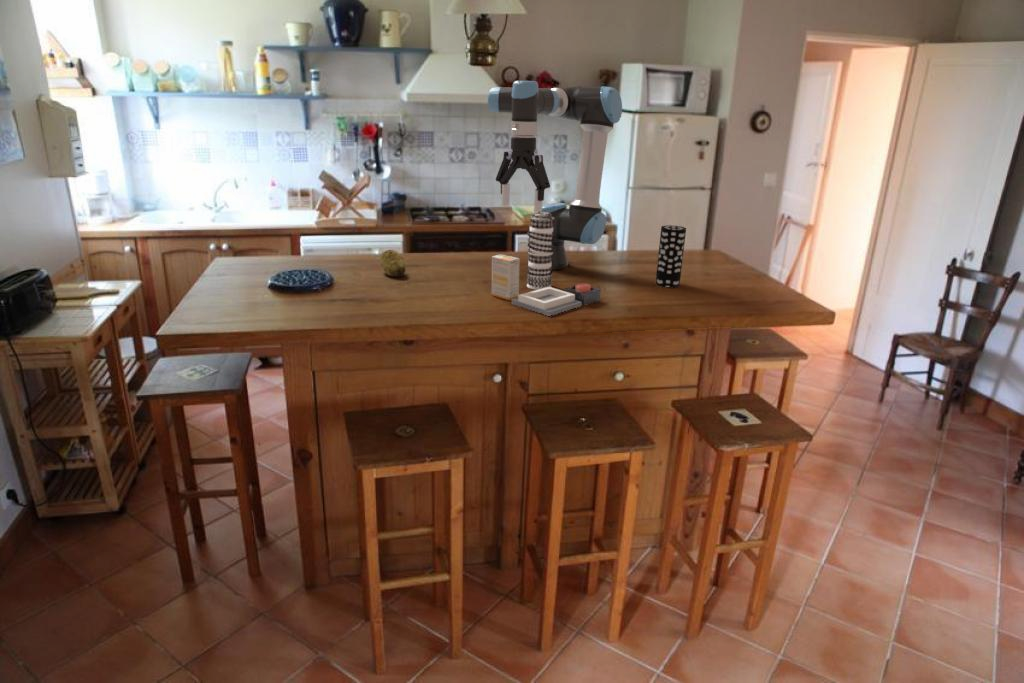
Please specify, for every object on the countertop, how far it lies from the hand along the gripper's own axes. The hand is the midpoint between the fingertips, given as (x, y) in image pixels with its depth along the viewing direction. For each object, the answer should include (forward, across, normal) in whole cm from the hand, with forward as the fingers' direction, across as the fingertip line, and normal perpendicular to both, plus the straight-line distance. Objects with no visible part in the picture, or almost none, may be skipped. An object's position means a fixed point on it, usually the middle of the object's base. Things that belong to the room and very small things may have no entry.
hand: (521, 208), depth 207 cm
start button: (+27, +16, +13) cm, 34 cm away
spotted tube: (+29, +24, +50) cm, 63 cm away
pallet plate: (+28, +12, 0) cm, 31 cm away
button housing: (+28, +16, +13) cm, 35 cm away
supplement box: (+29, -4, -2) cm, 29 cm away
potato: (+29, -49, -13) cm, 58 cm away
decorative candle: (+29, -4, +14) cm, 32 cm away
